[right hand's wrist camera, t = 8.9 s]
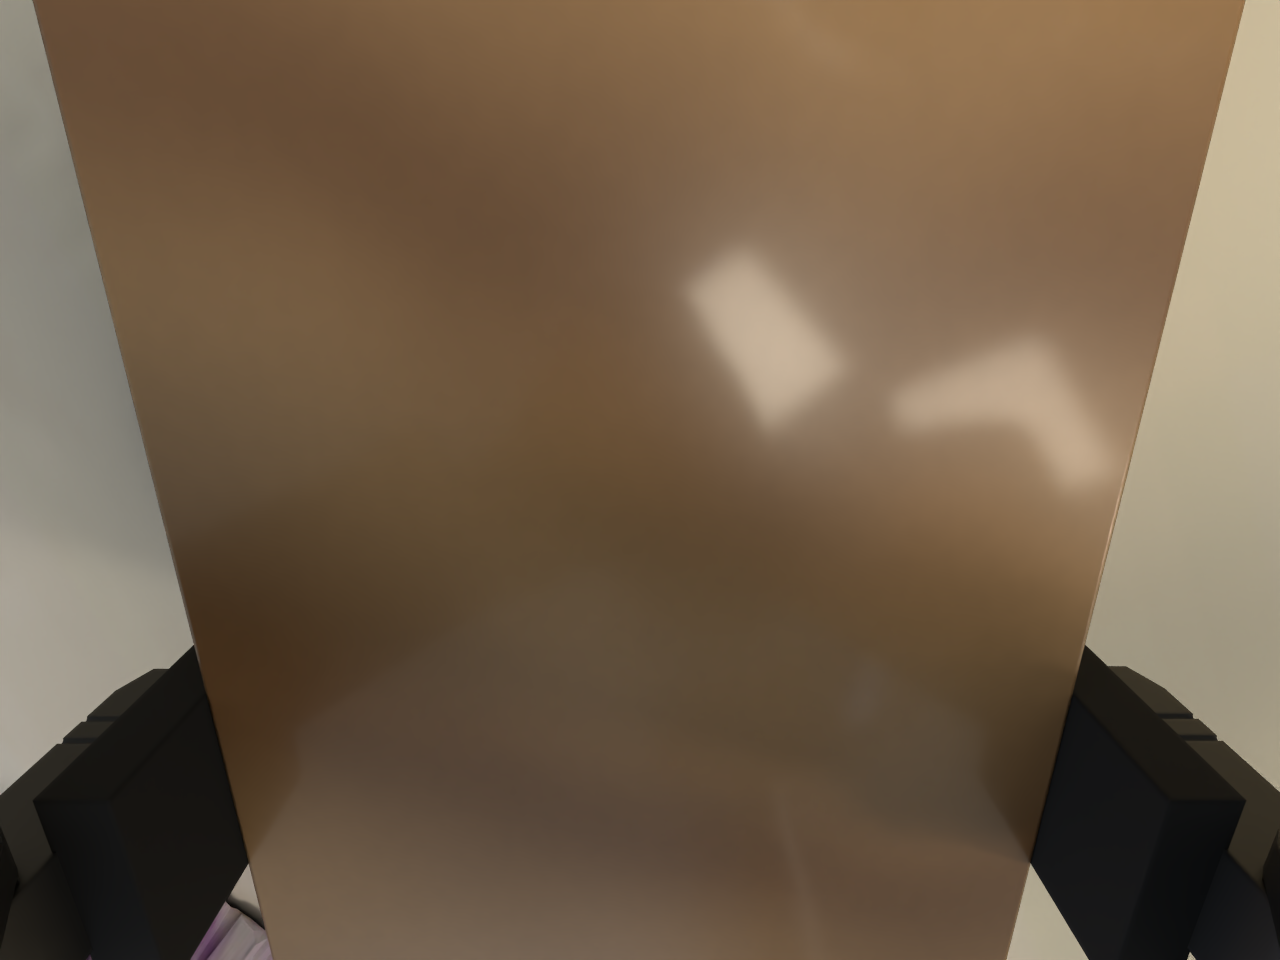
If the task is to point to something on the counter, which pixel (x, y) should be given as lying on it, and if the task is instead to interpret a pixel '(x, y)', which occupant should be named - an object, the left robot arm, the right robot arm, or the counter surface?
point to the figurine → (232, 938)
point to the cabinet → (639, 440)
